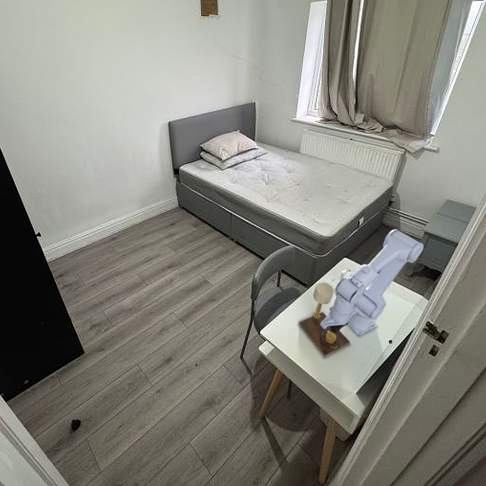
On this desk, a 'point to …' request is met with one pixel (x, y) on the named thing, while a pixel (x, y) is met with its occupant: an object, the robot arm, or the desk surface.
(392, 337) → the desk surface
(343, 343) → the lamp base
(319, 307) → the lamp
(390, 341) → the desk surface
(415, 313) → the desk surface
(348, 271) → the perfume bottle
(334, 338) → the lamp switch
